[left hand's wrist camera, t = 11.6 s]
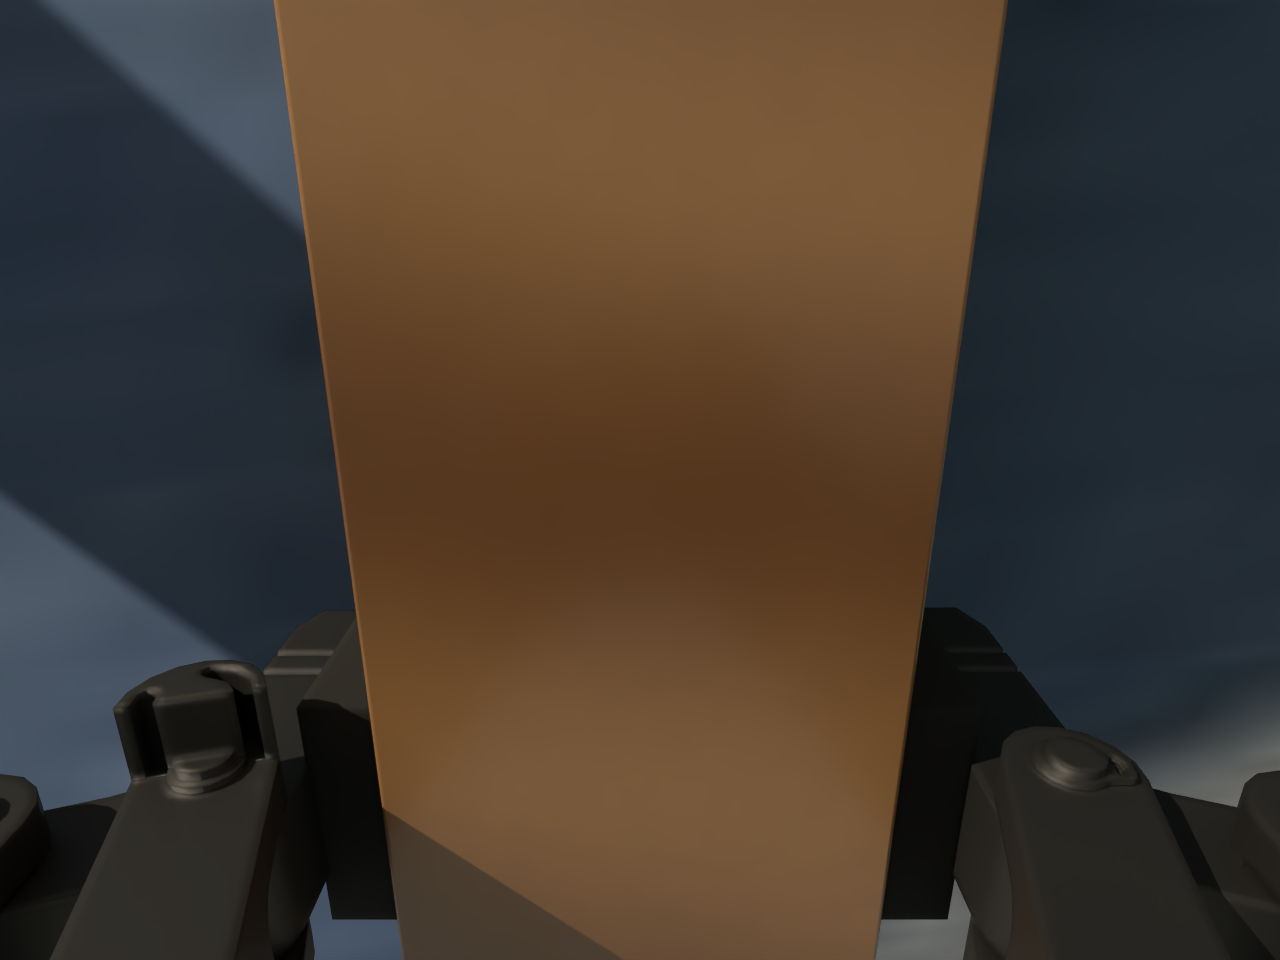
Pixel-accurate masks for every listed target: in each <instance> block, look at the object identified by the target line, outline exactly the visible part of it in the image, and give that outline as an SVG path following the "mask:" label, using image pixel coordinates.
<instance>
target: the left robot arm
mask: <svg viewBox="0 0 1280 960" xmlns="http://www.w3.org/2000/svg"><path fill="white" fill-rule="evenodd" d="M113 712H114V716H115V719H116V723H117V727H118V731H119V735H120V738H121V742H122V746H123V750H124V754H125V757H126V761H127V765H128V769H129V773H130V776H131V780H132V781H131V784H130V786H129V788H128V790H127V792H126V793H123V794H119V795H115V796H112V797H108V798H103V799H98V800H93V801H89V802H84V803H79V804H74V805H70V806H65V807H60V808H55V809H51V810H46V811H44V810H43V807H42V803H41V800H40V797H39V794H38V791H37V787H36V786H34V785H33V784H32V783H31V782H29V781H28V780H27V779H25V778H24V777H18V776H11V775H4V774H0V960H314V954H315V950H314V943H313V936H312V930H311V924H310V919H309V917H310V915H311V913H312V911H313V908H314V906H315V904H316V902H317V899H318V897H319V895H320V893H321V891H322V888H323V886H324V884H325V882H326V885H327V890H328V896H329V902H330V908H331V914H332V919H397V914H396V906H395V899H394V892H393V884H392V877H391V869H390V862H389V854H388V847H387V839H386V832H385V825H384V817H383V810H382V802H381V795H380V787H379V780H378V772H377V765H376V757H375V750H374V743H373V735H372V728H371V720H370V713H369V705H368V698H367V690H366V683H365V676H364V668H363V661H362V653H361V646H360V638H359V631H358V623H357V616H356V610H324V611H322V612H321V613H319V614H318V615H316V616H315V617H313V618H312V619H310V620H309V621H307V622H305V623H304V624H302V625H301V626H299V627H298V628H296V629H295V630H294V631H293V632H292V634H291V635H290V636H289V638H288V639H287V640H286V641H285V643H284V644H283V645H282V647H281V648H280V649H279V651H278V655H277V656H274V657H273V658H272V660H271V661H270V662H269V663H268V665H267V666H266V667H265V669H264V670H263V672H261V671H260V670H259V669H258V668H256V667H255V666H254V665H253V664H249V663H244V662H240V661H235V660H215V661H203V662H199V663H194V664H189V665H185V666H180V667H177V668H174V669H172V670H169V671H167V672H164V673H162V674H159V675H156V676H154V677H151V678H149V679H148V680H146V681H145V682H143V683H141V684H140V685H138V686H137V687H135V688H134V689H132V690H130V691H129V692H127V693H126V694H125V696H124V697H123V698H122V699H121V700H120V701H119V702H118V703H117V705H116V706H115V707H114V708H113ZM954 879H955V880H956V882H957V884H958V886H959V889H960V891H961V893H962V895H963V897H964V900H965V902H966V904H967V906H968V908H969V911H970V913H971V919H970V924H969V930H968V935H967V941H966V946H965V951H964V957H963V960H1280V771H1273V772H1265V773H1258V774H1256V775H1255V776H1254V777H1252V778H1251V779H1250V780H1249V781H1247V782H1246V783H1245V784H1244V788H1243V791H1242V794H1241V797H1240V800H1239V804H1238V807H1233V806H1228V805H1223V804H1218V803H1214V802H1209V801H1204V800H1199V799H1194V798H1190V797H1185V796H1180V795H1175V794H1171V793H1167V792H1164V791H1160V790H1156V789H1153V788H1152V786H1151V784H1150V782H1149V780H1148V779H1147V777H1146V776H1145V775H1144V773H1143V772H1142V771H1141V769H1140V768H1139V767H1138V765H1137V764H1136V763H1135V762H1134V761H1133V760H1131V759H1130V758H1129V757H1127V756H1126V755H1125V754H1123V753H1122V752H1121V751H1119V750H1118V749H1117V748H1115V747H1114V746H1112V745H1110V744H1107V743H1105V742H1103V741H1101V740H1099V739H1097V738H1094V737H1092V736H1090V735H1088V734H1084V733H1081V732H1077V731H1073V730H1069V729H1065V728H1064V727H1063V725H1062V724H1061V723H1060V721H1059V720H1058V719H1057V718H1056V716H1055V715H1054V714H1053V713H1052V711H1051V710H1050V709H1049V707H1048V706H1047V705H1046V704H1045V702H1044V701H1043V700H1042V698H1041V697H1040V696H1039V695H1038V693H1037V692H1036V691H1035V689H1034V688H1033V687H1032V686H1031V684H1030V683H1029V682H1028V680H1027V679H1026V678H1025V677H1024V675H1023V674H1022V673H1021V672H1018V671H1017V666H1016V665H1015V664H1014V662H1013V661H1012V660H1011V659H1010V657H1009V656H1008V655H1007V653H1003V648H1002V647H1001V646H1000V644H999V643H998V642H997V641H996V639H995V638H994V637H993V635H992V634H991V633H990V632H989V630H988V629H987V628H986V627H985V626H984V625H982V624H981V623H979V622H978V621H976V620H974V619H973V618H971V617H970V616H968V615H967V614H965V613H964V612H962V611H960V610H959V609H957V608H924V613H923V621H922V628H921V635H920V642H919V649H918V657H917V664H916V671H915V678H914V685H913V693H912V700H911V707H910V714H909V722H908V729H907V736H906V743H905V750H904V758H903V765H902V772H901V779H900V786H899V794H898V801H897V808H896V815H895V823H894V830H893V837H892V844H891V851H890V859H889V866H888V873H887V880H886V888H885V895H884V902H883V909H882V916H881V919H948V914H949V908H950V902H951V896H952V890H953V885H954Z"/></svg>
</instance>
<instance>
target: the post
mask: <svg viewBox="0 0 1280 960" xmlns="http://www.w3.org/2000/svg"><path fill="white" fill-rule="evenodd" d="M274 5H275V13H276V20H277V28H278V35H279V43H280V50H281V58H282V65H283V72H284V80H285V87H286V95H287V102H288V110H289V117H290V125H291V132H292V139H293V147H294V154H295V162H296V169H297V177H298V184H299V192H300V199H301V206H302V214H303V221H304V229H305V236H306V244H307V251H308V259H309V266H310V273H311V281H312V288H313V296H314V303H315V311H316V318H317V326H318V333H319V340H320V348H321V355H322V363H323V370H324V378H325V385H326V393H327V400H328V408H329V415H330V422H331V430H332V437H333V445H334V452H335V460H336V467H337V475H338V482H339V489H340V497H341V504H342V512H343V519H344V527H345V534H346V542H347V549H348V556H349V564H350V571H351V579H352V586H353V594H354V601H355V609H356V616H357V623H358V631H359V638H360V646H361V653H362V661H363V668H364V676H365V683H366V690H367V698H368V705H369V713H370V720H371V728H372V735H373V743H374V750H375V757H376V765H377V772H378V780H379V787H380V795H381V802H382V810H383V817H384V825H385V832H386V839H387V847H388V854H389V862H390V869H391V877H392V884H393V892H394V899H395V906H396V914H397V921H398V929H399V936H400V944H401V951H402V959H403V960H876V952H877V945H878V938H879V931H880V924H881V916H882V909H883V902H884V895H885V888H886V880H887V873H888V866H889V859H890V851H891V844H892V837H893V830H894V823H895V815H896V808H897V801H898V794H899V786H900V779H901V772H902V765H903V758H904V750H905V743H906V736H907V729H908V722H909V714H910V707H911V700H912V693H913V685H914V678H915V671H916V664H917V657H918V649H919V642H920V635H921V628H922V621H923V613H924V606H925V599H926V592H927V584H928V577H929V570H930V563H931V556H932V548H933V541H934V534H935V527H936V519H937V512H938V505H939V498H940V491H941V483H942V476H943V469H944V462H945V455H946V447H947V440H948V433H949V426H950V418H951V411H952V404H953V397H954V390H955V382H956V375H957V368H958V361H959V353H960V346H961V339H962V332H963V325H964V317H965V310H966V303H967V296H968V289H969V281H970V274H971V267H972V260H973V252H974V245H975V238H976V231H977V224H978V216H979V209H980V202H981V195H982V188H983V180H984V173H985V166H986V159H987V151H988V144H989V137H990V130H991V123H992V115H993V108H994V101H995V94H996V86H997V79H998V72H999V65H1000V58H1001V50H1002V43H1003V36H1004V29H1005V22H1006V14H1007V7H1008V0H274Z"/></svg>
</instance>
